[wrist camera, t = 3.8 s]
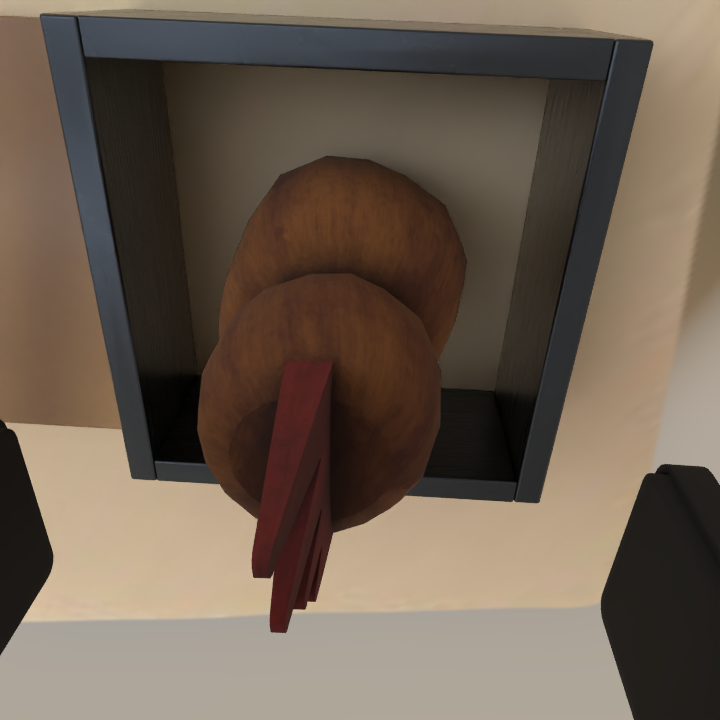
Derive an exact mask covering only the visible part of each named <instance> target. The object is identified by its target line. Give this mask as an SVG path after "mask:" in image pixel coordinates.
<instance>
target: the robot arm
mask: <svg viewBox="0 0 720 720" xmlns="http://www.w3.org/2000/svg"><path fill="white" fill-rule="evenodd" d="M52 565H53V551H52V548H51V545H50V541H49V538H48V535H47V532H46V529H45V525H44V522H43V519H42V516H41V513H40V509H39V506H38V503H37V500H36V496H35V493H34V490H33V487H32V484H31V480H30V477H29V474H28V471H27V468H26V464H25V461H24V458H23V455H22V452H21V448H20V445H19V442H18V439H17V436H16V434H15V432H14V431H13V430H11V429H7V427H6V425H5V423H4V422H3V421H2V420H1V419H0V655H1V653H2V652H3V650H4V648H5V647H6V645H7V644H8V642H9V640H10V639H11V637H12V636H13V634H14V632H15V631H16V629H17V627H18V626H19V624H20V623H21V621H22V619H23V618H24V616H25V614H26V613H27V611H28V609H29V608H30V606H31V605H32V603H33V601H34V600H35V598H36V596H37V595H38V593H39V592H40V590H41V588H42V587H43V585H44V583H45V582H46V580H47V579H48V577H49V575H50V572H51V569H52ZM601 613H602V619H603V623H604V626H605V629H606V632H607V636H608V638H609V642H610V645H611V648H612V651H613V655H614V658H615V661H616V664H617V667H618V670H619V674H620V677H621V680H622V683H623V686H624V689H625V692H626V696H627V699H628V702H629V705H630V708H631V711H632V715H633V718H634V720H720V485H719V483H718V482H717V480H716V479H715V477H714V476H713V474H712V473H711V472H710V471H709V469H707V468H705V467H699V466H685V465H671V464H664V465H661V466H660V467H659V468H658V469H657V471H656V473H655V474H654V473H649V474H647V475H646V476H645V477H644V479H643V481H642V484H641V487H640V490H639V492H638V495H637V498H636V501H635V504H634V506H633V509H632V512H631V515H630V518H629V520H628V523H627V526H626V529H625V532H624V534H623V537H622V540H621V543H620V546H619V548H618V551H617V554H616V557H615V560H614V562H613V565H612V568H611V571H610V574H609V576H608V579H607V582H606V585H605V588H604V590H603V593H602V597H601Z"/></svg>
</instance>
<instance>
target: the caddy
mask: <svg viewBox="0 0 720 720" xmlns="http://www.w3.org/2000/svg"><path fill="white" fill-rule="evenodd" d="M40 21H41V26H42V31H43V36H44V41H45V46H46V51H47V56H48V61H49V66H50V71H51V76H52V81H53V86H54V91H55V96H56V101H57V106H58V111H59V116H60V121H61V126H62V131H63V136H64V141H65V146H66V151H67V156H68V161H69V166H70V171H71V176H72V181H73V186H74V191H75V196H76V201H77V206H78V211H79V216H80V221H81V226H82V231H83V236H84V241H85V246H86V251H87V256H88V261H89V266H90V271H91V276H92V281H93V286H94V291H95V296H96V302H97V307H98V312H99V317H100V322H101V327H102V332H103V337H104V342H105V347H106V352H107V357H108V362H109V367H110V372H111V377H112V382H113V387H114V392H115V397H116V402H117V407H118V412H119V417H120V422H121V427H122V432H123V437H124V442H125V447H126V452H127V457H128V462H129V467H130V472H131V477H132V479H142V480H156V479H157V480H159V481H175V482H192V483H208V484H219V482H218V481H217V479H216V478H215V476H214V475H213V474H212V472H211V470H210V469H209V467H208V466H207V464H206V462H205V459H204V455H203V451H202V447H201V443H200V439H199V435H198V431H197V424H198V408H199V398H200V388H201V378H202V375H199V376H198V373H197V364H196V355H195V347H194V338H193V329H192V321H191V312H190V303H189V294H188V286H187V277H186V268H185V260H184V251H183V242H182V234H181V225H180V216H179V207H178V199H177V190H176V181H175V173H174V164H173V155H172V147H171V138H170V129H169V120H168V112H167V103H166V94H165V86H164V77H163V68H162V62H184V63H206V64H228V65H250V66H272V67H294V68H316V69H338V70H360V71H382V72H404V73H426V74H448V75H470V76H492V77H514V78H536V79H550V84H549V90H548V96H547V101H546V107H545V113H544V118H543V124H542V129H541V135H540V141H539V146H538V152H537V158H536V163H535V169H534V174H533V180H532V186H531V191H530V197H529V203H528V208H527V214H526V219H525V225H524V231H523V236H522V242H521V248H520V253H519V259H518V264H517V270H516V276H515V281H514V287H513V293H512V298H511V304H510V309H509V315H508V321H507V326H506V332H505V338H504V343H503V349H502V354H501V360H500V366H499V371H498V377H497V383H496V388H495V394H494V392H490V391H473V390H455V389H441V415H440V428H439V431H438V434H437V436H436V439H435V442H434V445H433V448H432V451H431V454H430V457H429V460H428V463H427V466H426V469H425V473H424V476H423V477H422V478H421V479H420V480H419V481H418V483H417V484H416V485H415V486H414V487H413V488H412V489H411V490H410V491H409V492H408V493H407V494H406V496H423V497H439V498H456V499H472V500H489V501H505V502H513V500H514V501H515V502H525V503H539V502H540V498H541V494H542V490H543V486H544V482H545V478H546V474H547V470H548V466H549V462H550V458H551V454H552V450H553V446H554V442H555V438H556V434H557V430H558V426H559V422H560V418H561V414H562V410H563V406H564V402H565V397H566V393H567V389H568V385H569V381H570V377H571V373H572V369H573V365H574V361H575V357H576V353H577V349H578V345H579V341H580V337H581V333H582V329H583V325H584V321H585V317H586V313H587V309H588V305H589V301H590V297H591V293H592V289H593V285H594V281H595V277H596V273H597V269H598V265H599V261H600V257H601V253H602V249H603V245H604V241H605V237H606V233H607V229H608V225H609V221H610V217H611V213H612V209H613V205H614V201H615V197H616V193H617V189H618V185H619V181H620V177H621V173H622V169H623V165H624V161H625V157H626V153H627V149H628V145H629V141H630V137H631V133H632V129H633V125H634V121H635V117H636V113H637V109H638V105H639V101H640V97H641V93H642V89H643V85H644V81H645V77H646V72H647V68H648V64H649V60H650V56H651V52H652V48H653V41H651V40H648V39H642V38H636V37H630V36H624V35H618V34H612V33H606V32H600V31H594V30H589V29H572V28H562V29H561V28H550V27H527V26H504V25H481V24H458V23H435V22H412V21H389V20H366V19H343V18H321V17H298V16H275V15H252V14H229V13H206V12H183V11H160V10H157V11H154V10H136V9H123V10H102V11H82V12H61V13H42V14H40Z"/></svg>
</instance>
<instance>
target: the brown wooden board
mask: <svg viewBox="0 0 720 720" xmlns="http://www.w3.org/2000/svg"><path fill="white" fill-rule="evenodd" d="M0 419H1V420H2V421H3V422H10V423H27V424H44V425H61V426H78V427H95V428H112V429H122V427H121V422H120V417H119V412H118V407H117V402H116V397H115V392H114V387H113V382H112V377H111V372H110V367H109V362H108V357H107V352H106V347H105V342H104V337H103V332H102V327H101V322H100V317H99V312H98V307H97V302H96V296H95V291H94V286H93V281H92V276H91V271H90V266H89V261H88V256H87V251H86V246H85V241H84V236H83V231H82V226H81V221H80V216H79V211H78V206H77V201H76V196H75V191H74V186H73V181H72V176H71V171H70V166H69V161H68V156H67V151H66V146H65V141H64V136H63V131H62V126H61V121H60V116H59V111H58V106H57V101H56V96H55V91H54V86H53V81H52V76H51V71H50V66H49V61H48V56H47V51H46V46H45V41H44V36H43V31H42V26H41V21H40V18H37V17H15V16H0Z"/></svg>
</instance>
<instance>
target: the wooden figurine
mask: <svg viewBox="0 0 720 720" xmlns="http://www.w3.org/2000/svg"><path fill="white" fill-rule="evenodd" d="M466 263H467V260H466V257H465V254H464V250H463V247H462V244H461V242H460V239H459V237H458V235H457V232H456V230H455V228H454V225H453V223H452V220H451V218H450V216H449V213H448V211H447V209H446V206H445V205H444V204H443V203H441V202H440V201H439V200H437V199H436V198H435V197H434V196H432V195H431V194H429V193H428V192H427V191H425V190H424V189H423V188H421V187H420V186H419V185H417V184H416V183H415V182H413V181H412V180H411V179H409V178H408V177H407V176H405V175H403V174H401V173H398V172H396V171H394V170H391V169H389V168H387V167H384V166H382V165H380V164H378V163H375V162H373V161H371V160H367V159H356V158H345V157H334V156H326V157H323V158H321V159H319V160H316V161H314V162H311V163H309V164H306V165H304V166H301V167H299V168H296V169H294V170H292V171H289V172H287V173H284V174H282V175H280V176H279V178H278V179H277V180H276V182H275V183H274V185H273V186H272V188H271V189H270V191H269V192H268V193H267V195H266V196H265V198H264V199H263V201H262V202H261V204H260V205H259V206H258V208H257V209H256V211H255V212H254V214H253V215H252V217H251V218H250V220H249V221H248V224H247V226H246V229H245V231H244V234H243V236H242V239H241V241H240V244H239V246H238V249H237V251H236V254H235V256H234V259H233V261H232V263H231V266H230V268H229V270H228V273H227V277H226V281H225V286H224V291H223V296H222V300H221V305H220V310H219V342H218V343H217V345H216V347H215V349H214V350H213V352H212V354H211V356H210V357H209V360H208V362H207V364H206V366H205V368H204V371H203V373H202V378H201V388H200V398H199V408H198V424H197V431H198V435H199V439H200V443H201V447H202V451H203V455H204V459H205V462H206V464H207V466H208V467H209V469H210V470H211V472H212V474H213V475H214V476H215V478H216V479H217V481H218V482H219V484H220V486H221V487H222V489H223V490H224V492H225V493H226V494H227V495H228V496H229V497H230V498H232V499H233V500H234V501H235V502H237V503H238V504H239V505H240V506H242V507H243V508H244V509H245V510H246V511H248V512H249V513H250V514H251V515H252V516H254V517H255V518H257V519H258V522H257V528H256V534H255V539H254V545H253V551H252V572H253V577H254V578H271V576H272V574H273V572H274V577H273V588H272V599H271V609H270V630H271V632H276V633H286V632H287V629H288V625H289V622H290V618H291V615H292V611H293V609H302V610H305V609H306V606H307V602H308V601H309V602H316V599H317V595H318V591H319V587H320V584H321V580H322V576H323V572H324V568H325V564H326V560H327V556H328V552H329V548H330V544H331V539H332V535H333V533H335V532H338V531H341V530H345V529H348V528H351V527H354V526H358V525H361V524H364V523H366V522H368V521H369V520H371V519H373V518H375V517H376V516H378V515H380V514H381V513H383V512H385V511H387V510H388V509H390V508H391V507H392V506H394V505H395V504H396V503H398V502H399V501H400V500H401V499H402V498H403V497H404V496H405V495H406V494H407V493H408V492H409V491H410V490H411V489H412V488H413V487H414V486H415V485H416V484H417V483H418V481H419V480H420V479H421V478H422V477H423V476H424V473H425V469H426V466H427V463H428V460H429V457H430V454H431V451H432V448H433V445H434V442H435V439H436V436H437V434H438V431H439V428H440V415H441V371H440V367H439V363H438V361H439V359H440V356H441V354H442V352H443V349H444V347H445V344H446V342H447V340H448V337H449V335H450V333H451V330H452V328H453V326H454V323H455V321H456V317H457V312H458V308H459V303H460V298H461V294H462V289H463V285H464V280H465V272H466Z"/></svg>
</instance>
